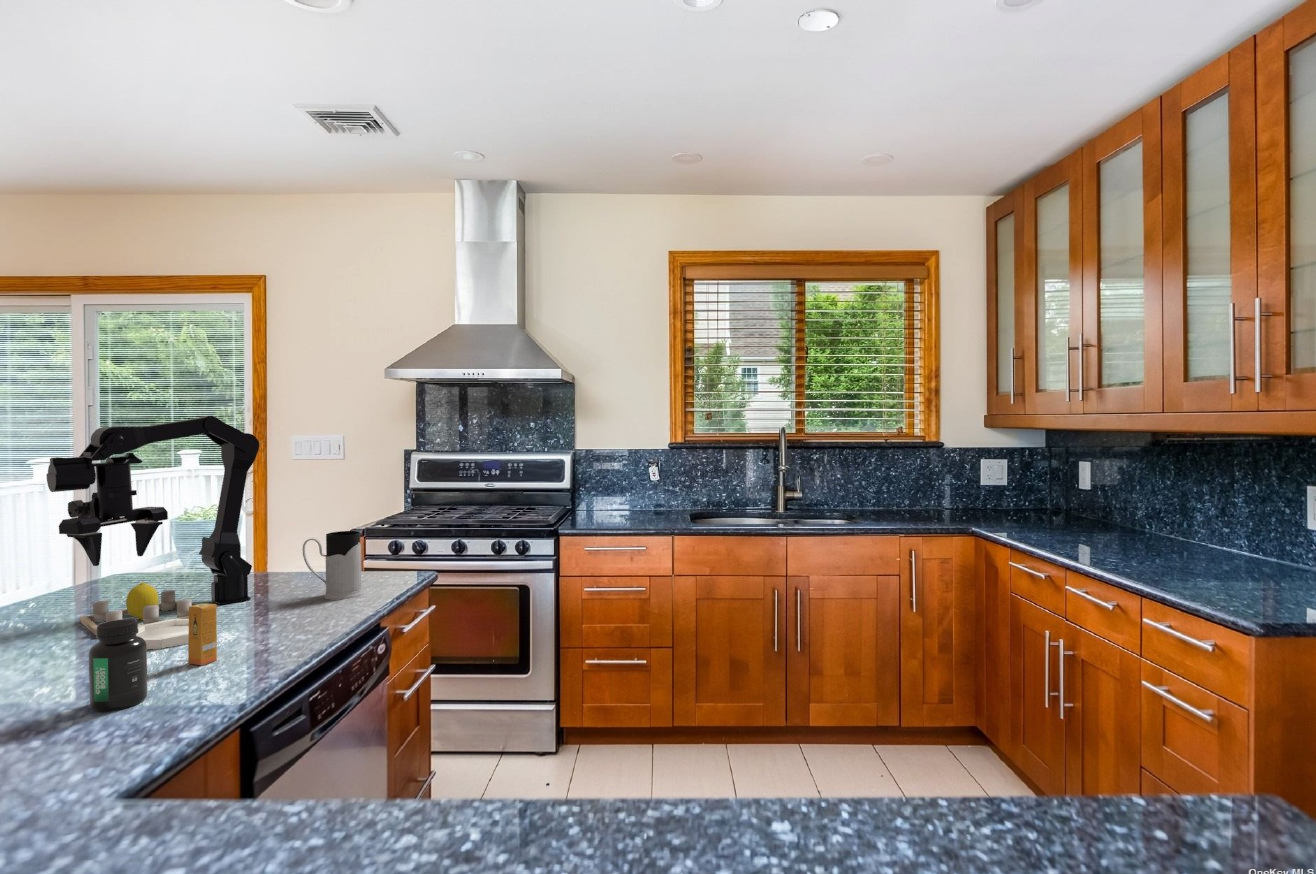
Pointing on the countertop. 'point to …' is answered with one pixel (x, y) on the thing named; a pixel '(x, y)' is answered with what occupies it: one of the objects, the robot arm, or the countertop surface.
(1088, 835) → the countertop surface
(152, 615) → the spacer field
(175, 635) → the dish
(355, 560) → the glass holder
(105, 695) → the supplement bottle
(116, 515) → the robot arm
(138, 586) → the lemon
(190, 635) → the supplement box
